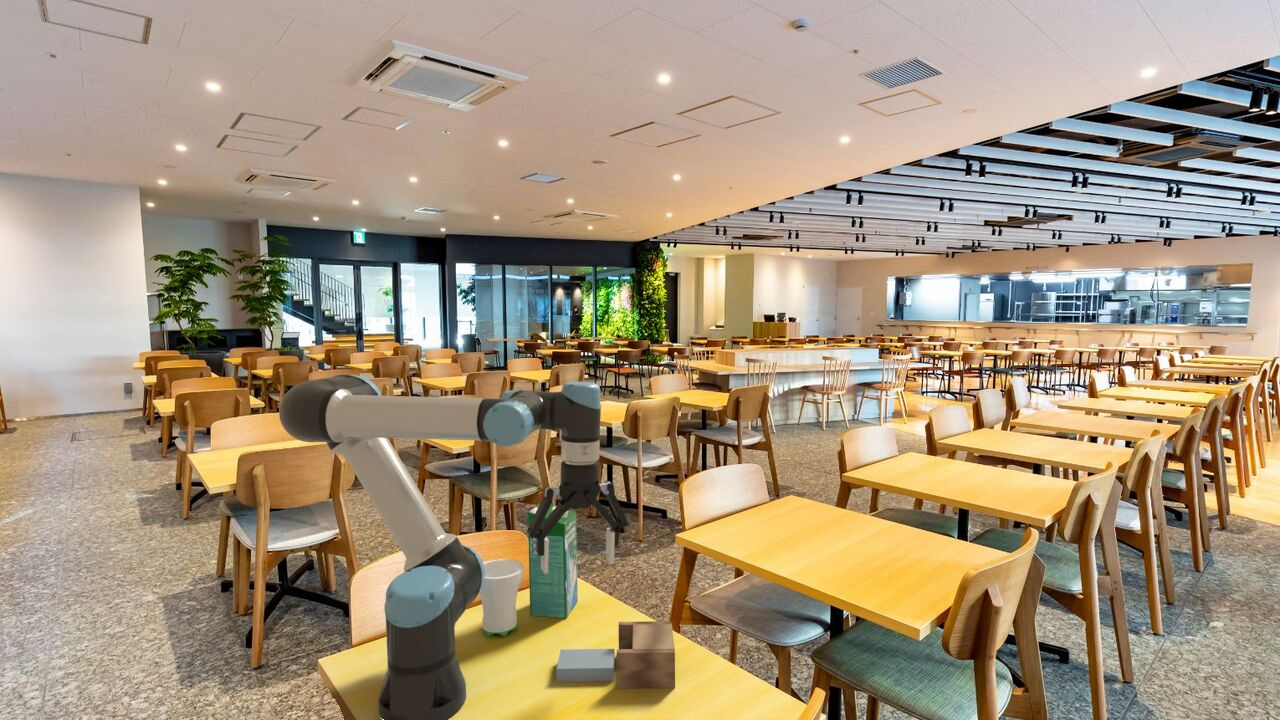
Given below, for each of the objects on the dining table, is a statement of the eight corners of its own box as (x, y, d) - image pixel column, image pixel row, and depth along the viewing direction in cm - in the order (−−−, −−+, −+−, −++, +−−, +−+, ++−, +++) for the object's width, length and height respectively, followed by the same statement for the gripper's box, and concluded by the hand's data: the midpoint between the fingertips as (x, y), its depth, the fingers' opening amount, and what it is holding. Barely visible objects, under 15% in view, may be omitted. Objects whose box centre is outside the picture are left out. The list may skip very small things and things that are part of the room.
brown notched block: (617, 688, 118) (616, 652, 117) (619, 654, 130) (618, 621, 129) (675, 687, 118) (674, 652, 118) (671, 653, 130) (671, 621, 130)
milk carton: (566, 618, 146) (564, 514, 144) (529, 615, 147) (527, 511, 146) (577, 601, 154) (576, 502, 153) (543, 598, 156) (541, 500, 155)
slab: (556, 683, 120) (556, 668, 120) (560, 663, 127) (560, 649, 127) (613, 682, 121) (613, 667, 120) (614, 662, 128) (614, 648, 127)
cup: (535, 625, 143) (534, 564, 142) (501, 647, 133) (499, 582, 132) (498, 613, 148) (497, 555, 148) (463, 633, 139) (461, 571, 138)
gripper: (521, 469, 114) (519, 582, 115) (645, 460, 124) (642, 564, 125) (512, 460, 121) (511, 567, 122) (631, 452, 131) (628, 551, 132)
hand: (577, 566), depth 124 cm, fingers open, 13 cm apart
